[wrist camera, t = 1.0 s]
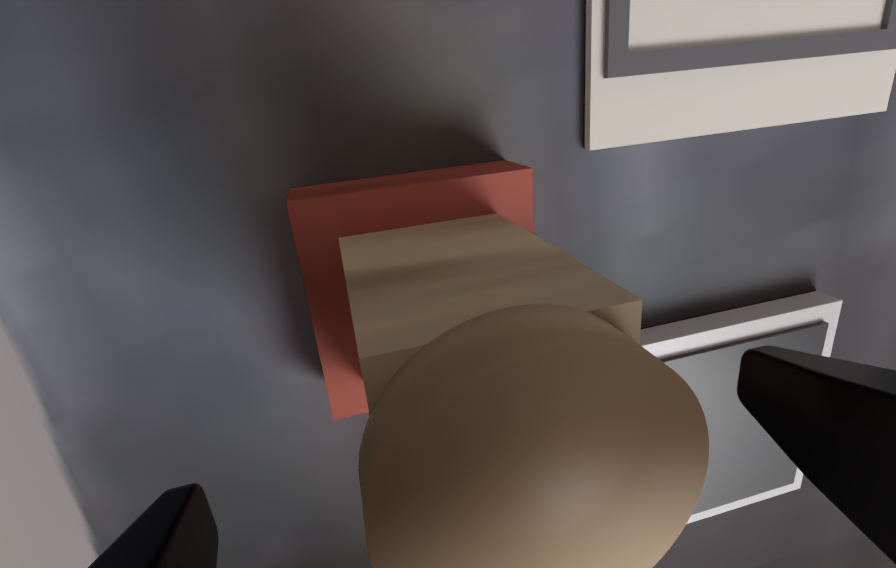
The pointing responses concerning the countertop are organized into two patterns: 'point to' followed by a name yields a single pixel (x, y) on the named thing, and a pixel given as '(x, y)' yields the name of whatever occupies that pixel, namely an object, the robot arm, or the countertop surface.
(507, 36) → the countertop surface
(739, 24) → the print sheet
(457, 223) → the stamp
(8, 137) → the countertop surface
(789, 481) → the ink pad
